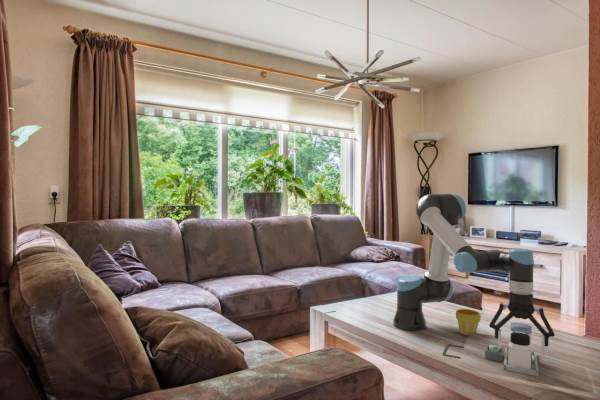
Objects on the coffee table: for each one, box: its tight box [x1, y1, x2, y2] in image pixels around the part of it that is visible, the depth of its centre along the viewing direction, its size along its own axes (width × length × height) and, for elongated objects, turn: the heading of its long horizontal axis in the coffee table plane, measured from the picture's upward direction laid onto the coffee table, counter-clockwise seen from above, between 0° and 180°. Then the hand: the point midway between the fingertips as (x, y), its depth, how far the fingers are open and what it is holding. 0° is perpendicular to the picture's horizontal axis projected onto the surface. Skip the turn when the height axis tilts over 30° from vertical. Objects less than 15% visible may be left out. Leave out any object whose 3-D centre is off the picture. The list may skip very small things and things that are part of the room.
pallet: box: [484, 345, 540, 377], centre depth 146 cm, size 18×22×4 cm
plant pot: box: [455, 308, 482, 336], centre depth 179 cm, size 10×10×10 cm
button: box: [488, 344, 500, 352], centre depth 149 cm, size 4×4×3 cm
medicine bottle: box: [508, 332, 533, 370], centre depth 141 cm, size 7×7×12 cm
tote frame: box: [442, 343, 465, 359], centre depth 157 cm, size 13×13×1 cm
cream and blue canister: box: [510, 322, 533, 347], centre depth 149 cm, size 7×7×12 cm
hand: (520, 351), depth 141 cm, fingers open, 13 cm apart
